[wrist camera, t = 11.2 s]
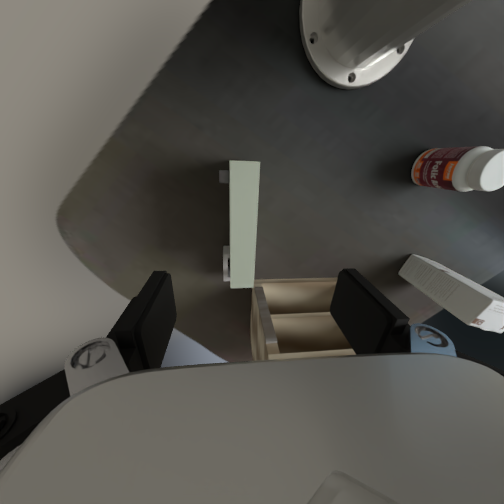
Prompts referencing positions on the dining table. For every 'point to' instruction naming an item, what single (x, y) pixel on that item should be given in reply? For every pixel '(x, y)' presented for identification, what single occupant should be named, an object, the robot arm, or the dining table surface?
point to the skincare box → (456, 293)
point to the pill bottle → (460, 168)
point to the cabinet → (295, 320)
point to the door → (241, 222)
